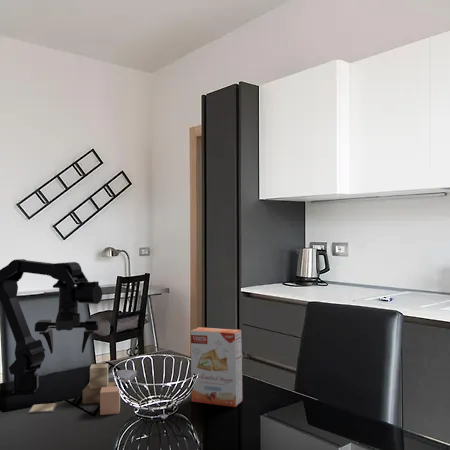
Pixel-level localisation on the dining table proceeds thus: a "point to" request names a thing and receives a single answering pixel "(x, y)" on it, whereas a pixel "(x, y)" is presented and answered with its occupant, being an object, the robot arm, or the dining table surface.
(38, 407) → the tile
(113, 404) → the terracotta block
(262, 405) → the dining table surface
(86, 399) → the walnut base block
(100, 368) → the oak block
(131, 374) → the stone block
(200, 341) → the cracker box
